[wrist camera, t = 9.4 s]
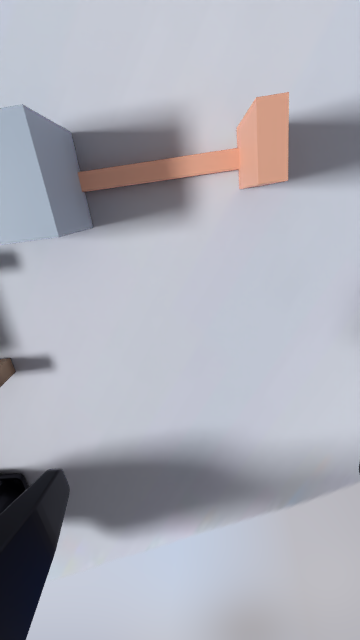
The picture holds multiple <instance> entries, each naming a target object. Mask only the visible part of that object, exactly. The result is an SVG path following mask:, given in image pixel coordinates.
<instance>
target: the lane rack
mask: <svg viewBox="0 0 360 640" xmlns="http://www.w3.org/2000/svg"><path fill="white" fill-rule="evenodd" d="M14 373H15V369H14V367H13V364H12V361H11V359H10V358H6V359H0V387H1V386H2V385H3V384H4V383H5V382H6V381H7V380H8V379H9V378H10V377H11V376H12V375H13V374H14Z"/></svg>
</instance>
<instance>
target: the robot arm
mask: <svg viewBox="0 0 360 640" xmlns="http://www.w3.org/2000/svg"><path fill="white" fill-rule="evenodd" d="M359 473H360V464H359ZM68 497H69V485H68V482H67V479H66V477H65V474H64V471H63V470H62V469H49V470H47V471H46V472H45V473H44V474H43V475H42V476H41V477H40V478H38V479H37V480H36V481H35V482H34V483H33V484H32V485H31V486H30V487H28V485H27V482H26V480H25V478H24V476H23V475H21V474H5V475H0V640H26V637H27V634H28V631H29V628H30V625H31V622H32V619H33V616H34V614H35V610H36V608H37V605H38V601H39V599H40V596H41V593H42V590H43V587H44V584H45V581H46V578H47V575H48V572H49V569H50V566H51V563H52V560H53V557H54V554H55V551H56V547H57V543H58V539H59V535H60V531H61V527H62V522H63V518H64V514H65V510H66V506H67V502H68Z"/></svg>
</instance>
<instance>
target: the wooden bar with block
mask: <svg viewBox="0 0 360 640" xmlns="http://www.w3.org/2000/svg"><path fill="white" fill-rule="evenodd" d="M288 132H289V92H287V93H280V94H274V95H268V96H262V97H256V99H255V100H254V102H253V103H252V105H251V106H250V108H249V110H248V111H247V113H246V114H245V116H244V117H243V119H242V120H241V122H240V124H239V125H238V127H237V146H238V148H235V149H228V150H221V151H215V152H208V153H201V154H195V155H188V156H181V157H175V158H168V159H162V160H155V161H148V162H142V163H135V164H128V165H122V166H115V167H109V168H102V169H95V170H89V171H82V172H80V168H79V164H78V159H77V155H76V151H75V146H74V142H73V138H72V133H71V132H70V131H68V130H66V129H65V128H63V127H61V126H59V125H58V124H56V123H54V122H52V121H51V120H49V119H47V118H45V117H44V116H42V115H40V114H38V113H37V112H35V111H33V110H31V109H30V108H28V107H26V106H24V105H23V104H22V105H16V106H10V107H5V108H0V245H3V244H11V243H18V242H26V241H33V240H41V239H48V238H56V237H61V236H65V235H68V234H72V233H75V232H79V231H82V230H86V229H90V228H93V225H92V220H91V216H90V212H89V207H88V203H87V199H86V194H85V192H88V191H95V190H102V189H109V188H116V187H123V186H129V185H136V184H143V183H150V182H157V181H164V180H171V179H178V178H185V177H192V176H198V175H205V174H212V173H219V172H226V171H233V170H239V188H240V189H244V188H251V187H258V186H264V185H269V184H274V183H279V182H284V181H288Z"/></svg>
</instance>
